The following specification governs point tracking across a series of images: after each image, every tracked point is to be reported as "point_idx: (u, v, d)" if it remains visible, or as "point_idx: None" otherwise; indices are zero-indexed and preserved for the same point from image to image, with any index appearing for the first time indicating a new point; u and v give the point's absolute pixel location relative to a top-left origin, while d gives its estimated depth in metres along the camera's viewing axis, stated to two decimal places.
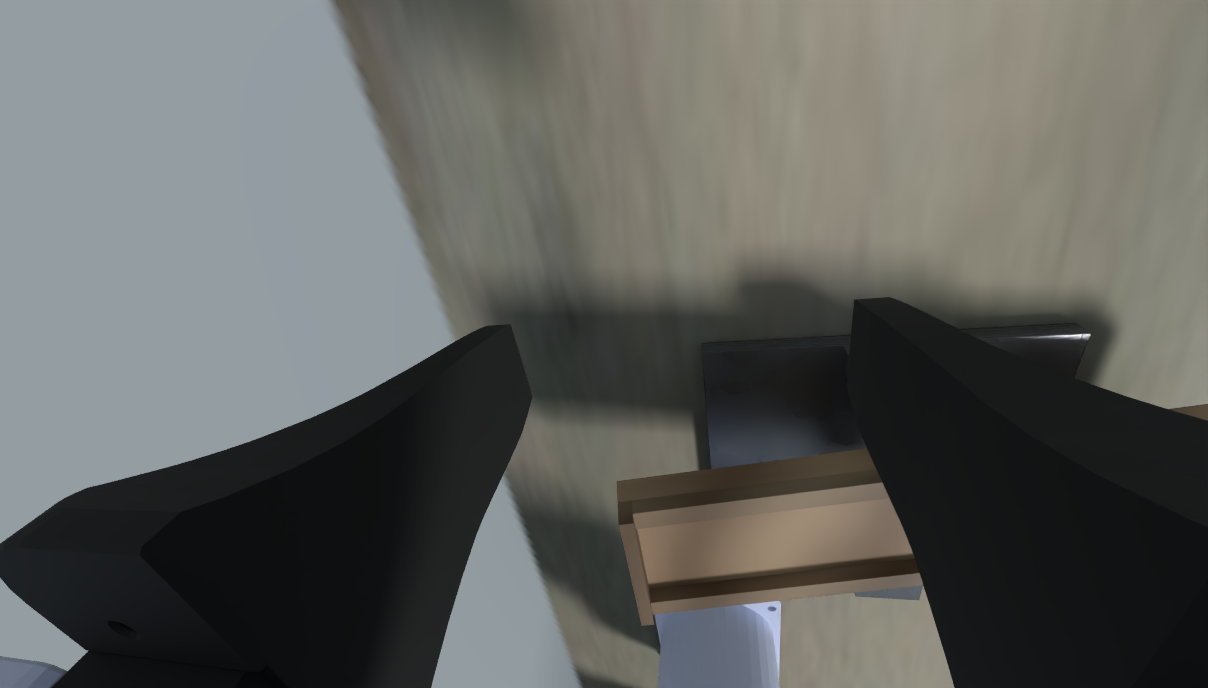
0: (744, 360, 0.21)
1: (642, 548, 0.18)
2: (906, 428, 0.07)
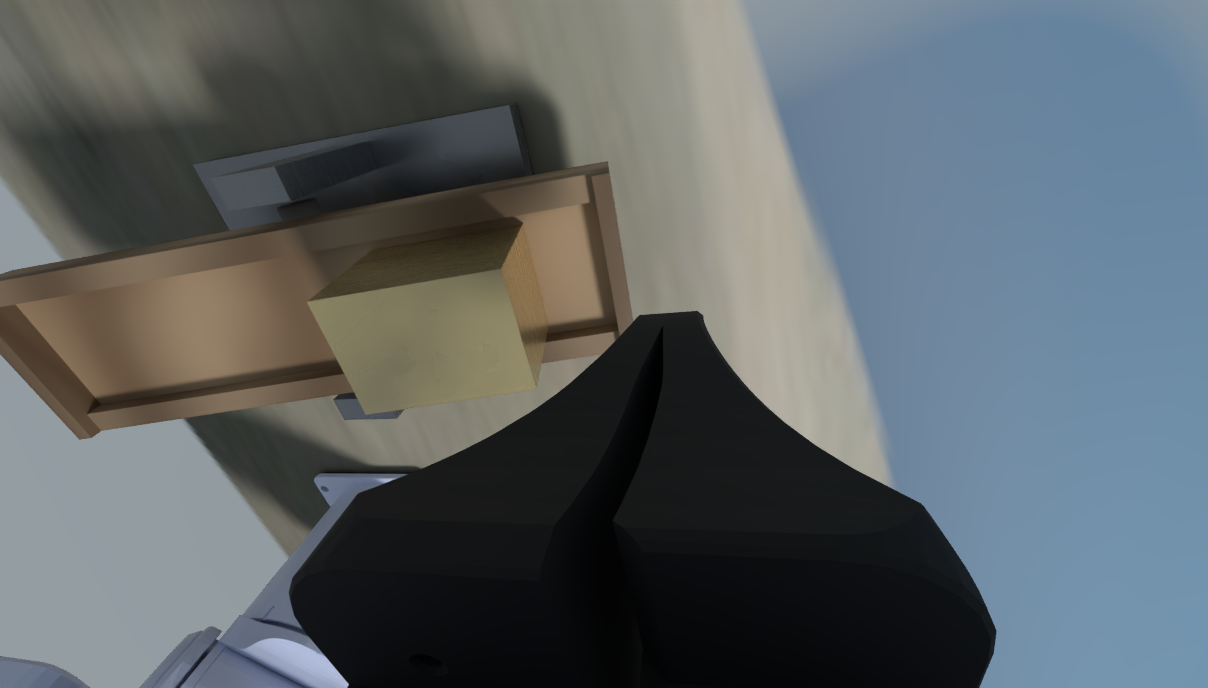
0: (232, 170, 0.20)
1: (54, 347, 0.17)
2: None
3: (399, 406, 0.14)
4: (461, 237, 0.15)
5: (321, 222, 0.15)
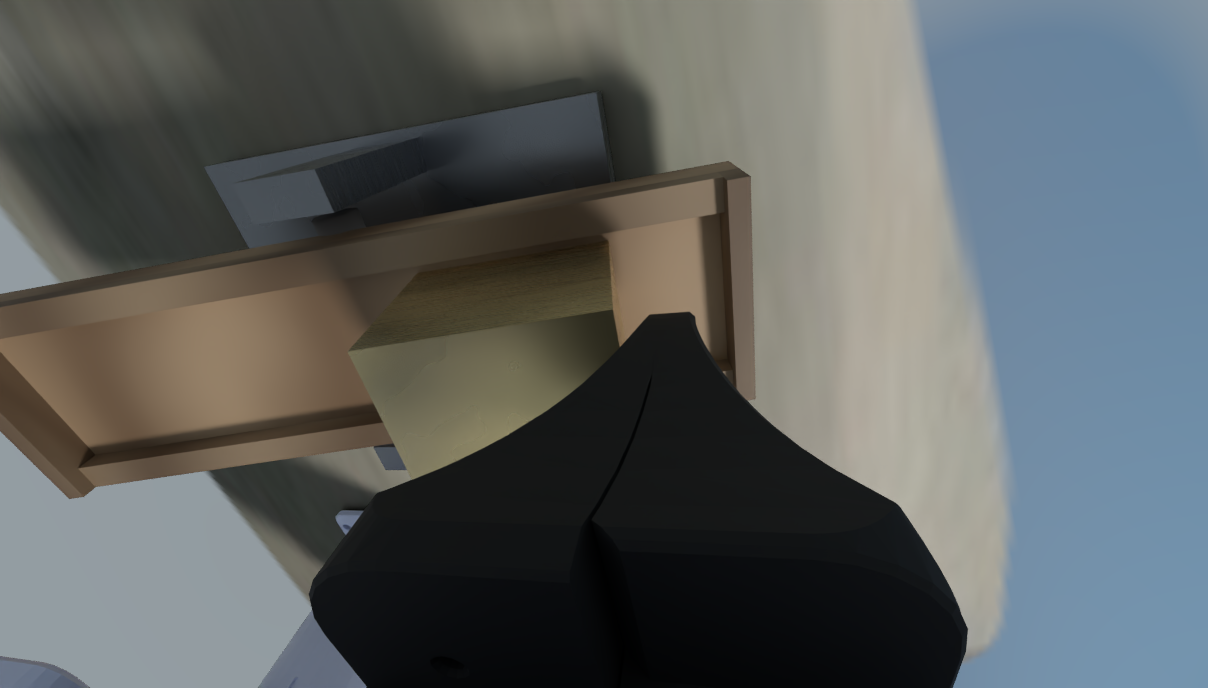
0: (251, 173, 0.16)
1: (37, 390, 0.14)
2: None
3: None
4: (532, 258, 0.12)
5: (372, 239, 0.11)
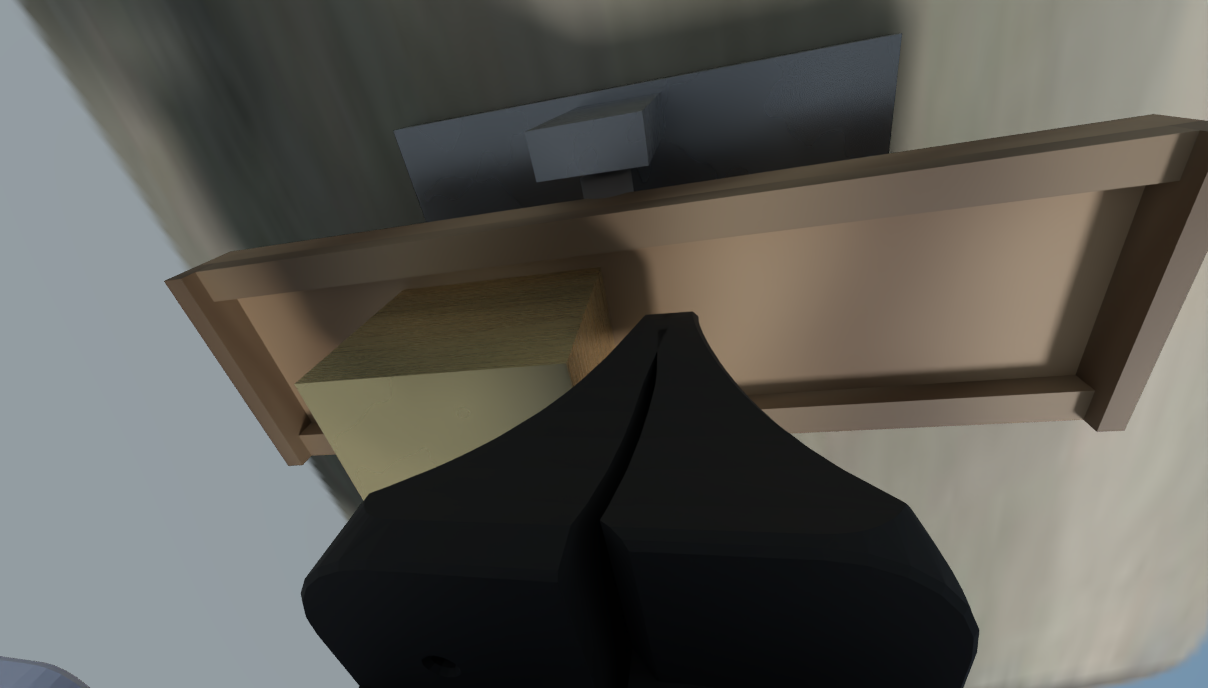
0: (449, 137, 0.15)
1: (270, 351, 0.14)
2: None
3: None
4: (516, 283, 0.11)
5: (682, 202, 0.09)
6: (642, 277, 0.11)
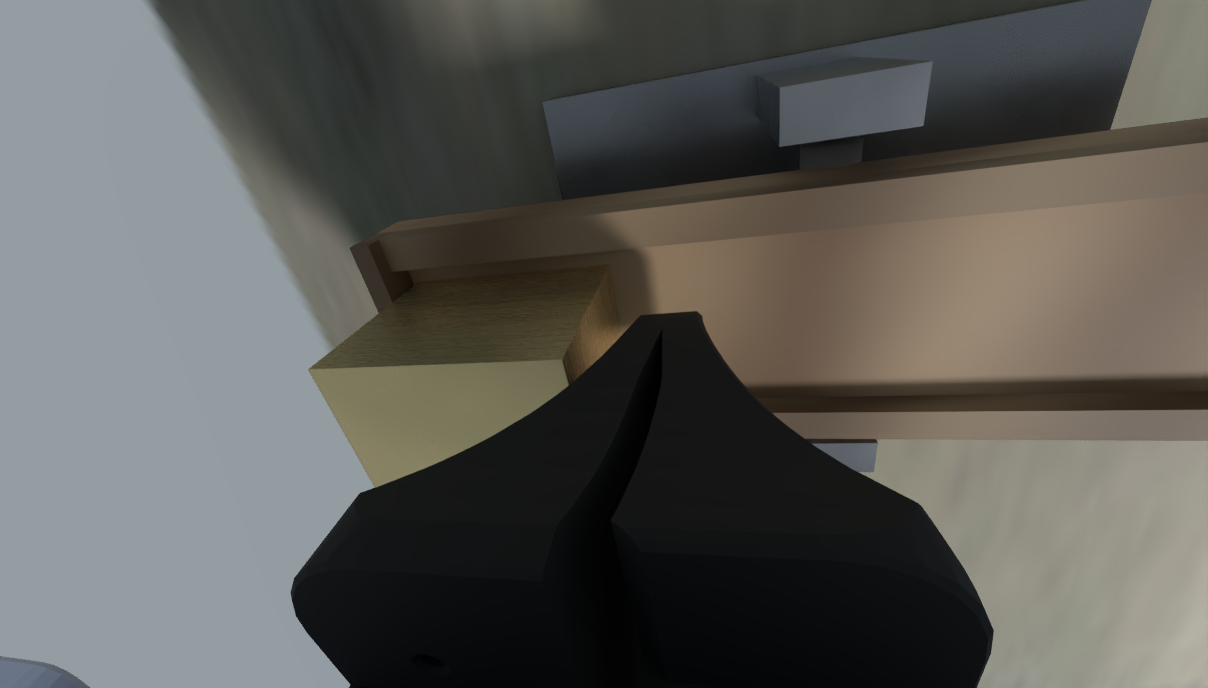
0: (605, 109, 0.13)
1: None
2: None
3: None
4: (526, 278, 0.11)
5: (960, 170, 0.08)
6: (874, 257, 0.10)
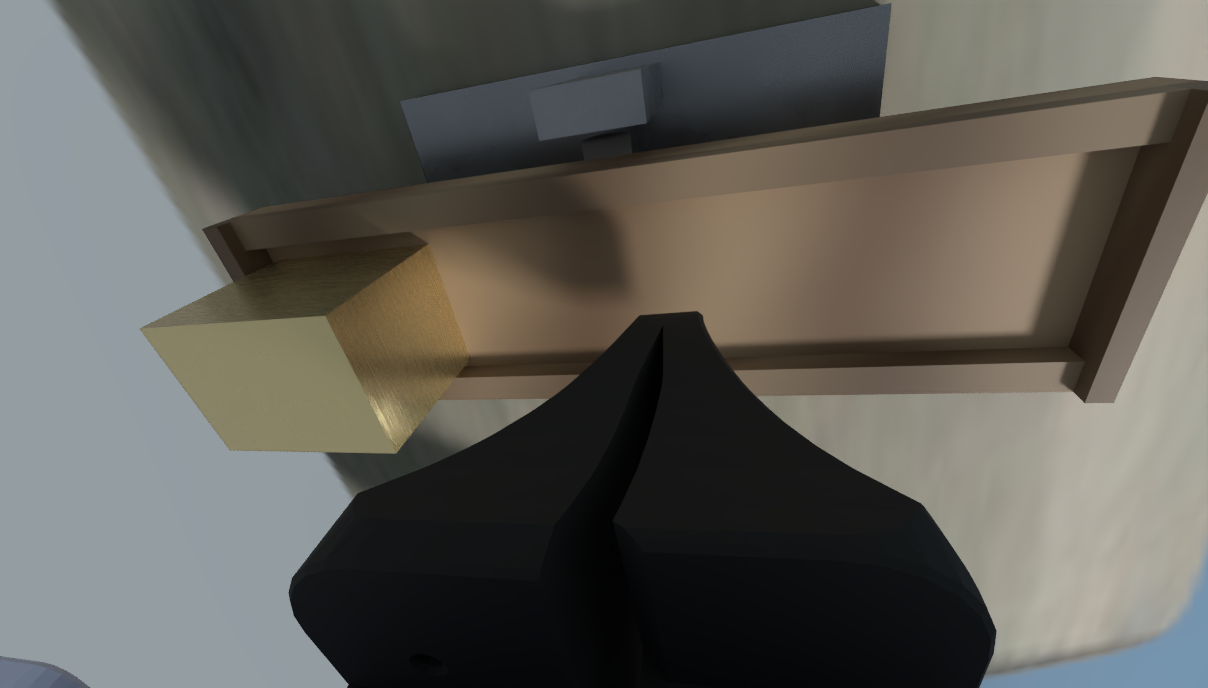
0: (454, 107, 0.15)
1: None
2: None
3: (259, 447, 0.12)
4: (357, 256, 0.13)
5: (671, 160, 0.10)
6: (635, 236, 0.11)
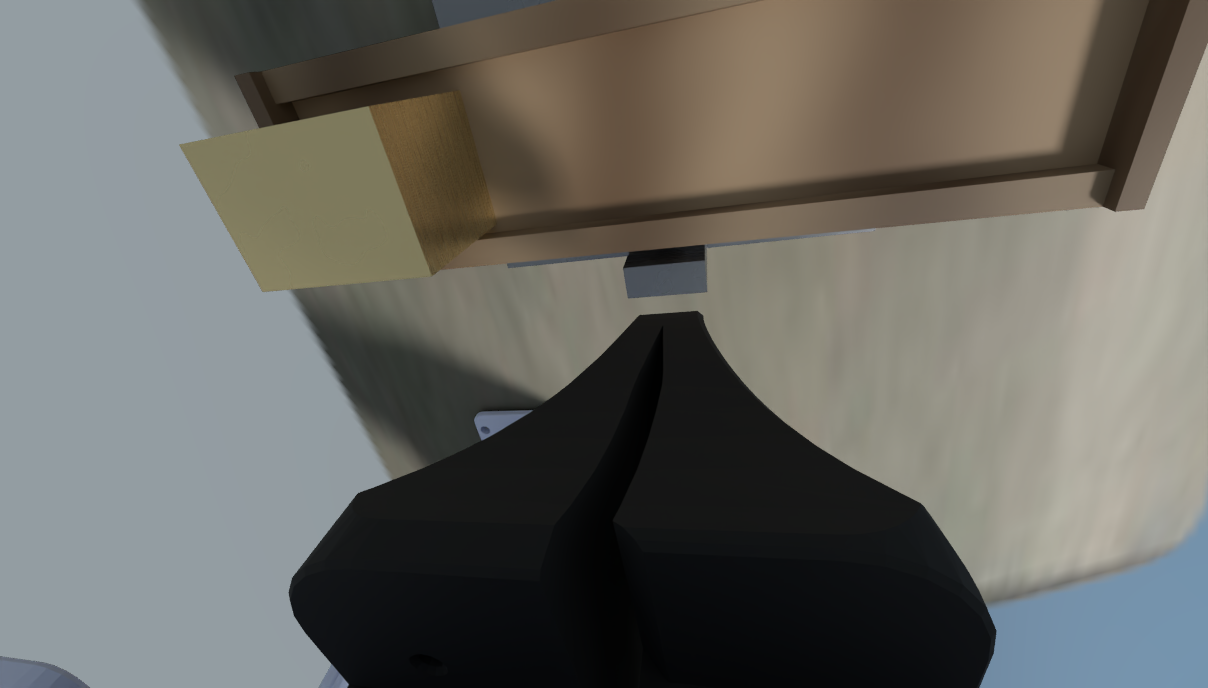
0: None
1: None
2: None
3: (293, 285, 0.12)
4: None
5: None
6: (667, 66, 0.12)
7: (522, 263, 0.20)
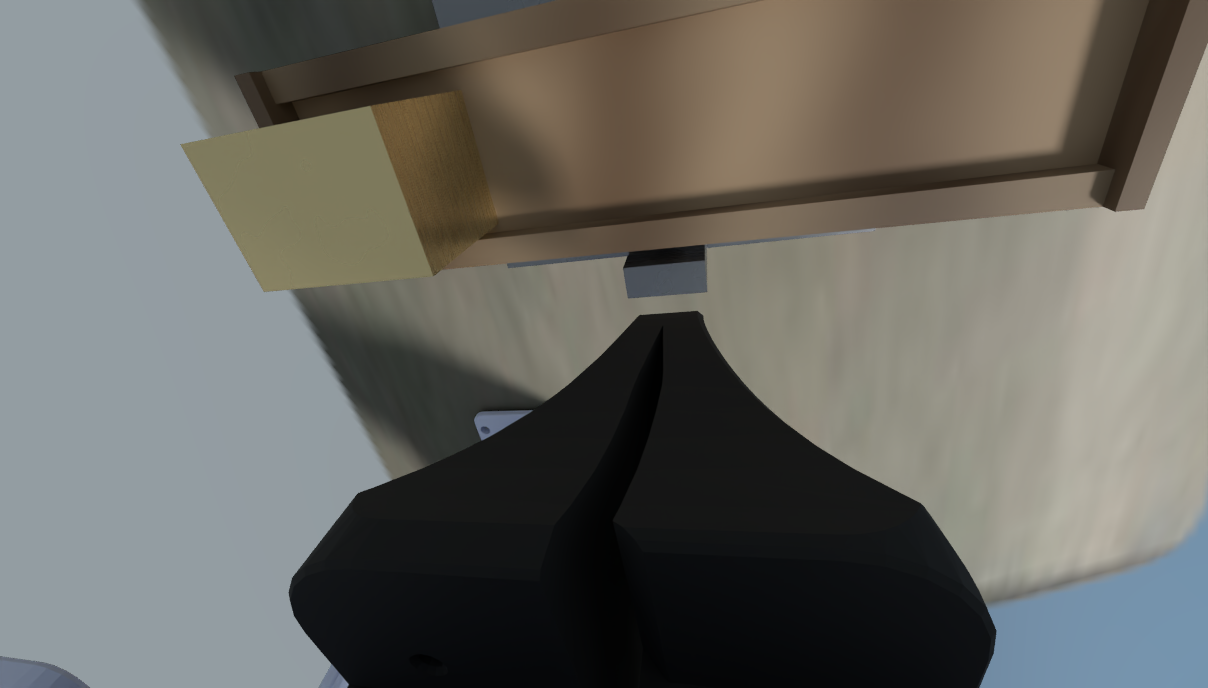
0: None
1: None
2: None
3: (294, 284, 0.12)
4: None
5: None
6: (667, 66, 0.12)
7: (522, 263, 0.20)
